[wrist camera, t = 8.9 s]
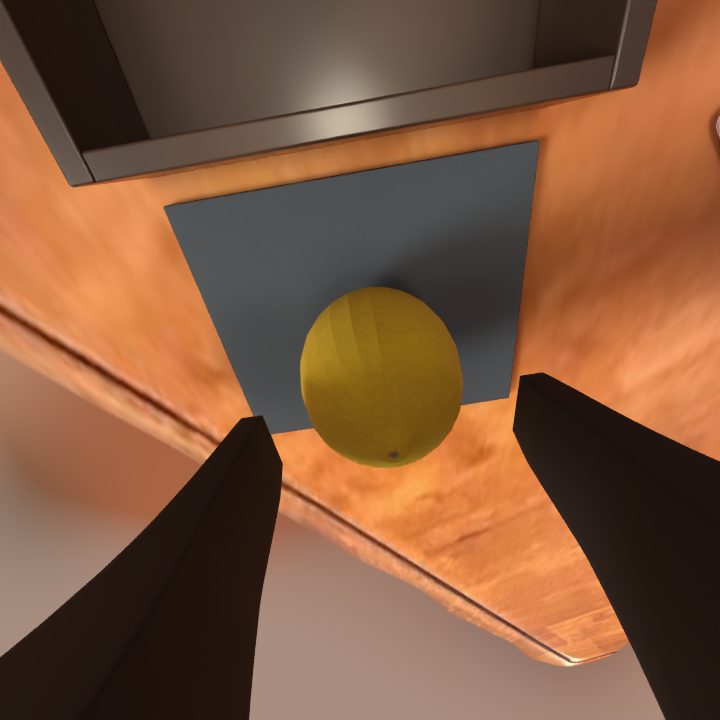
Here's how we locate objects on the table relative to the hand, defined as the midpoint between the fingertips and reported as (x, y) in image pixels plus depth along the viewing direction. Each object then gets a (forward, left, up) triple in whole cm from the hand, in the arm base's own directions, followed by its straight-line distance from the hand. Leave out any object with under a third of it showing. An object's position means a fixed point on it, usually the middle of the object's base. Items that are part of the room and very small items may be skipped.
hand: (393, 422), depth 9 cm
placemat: (0, 0, -7) cm, 7 cm away
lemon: (0, 0, -7) cm, 7 cm away
